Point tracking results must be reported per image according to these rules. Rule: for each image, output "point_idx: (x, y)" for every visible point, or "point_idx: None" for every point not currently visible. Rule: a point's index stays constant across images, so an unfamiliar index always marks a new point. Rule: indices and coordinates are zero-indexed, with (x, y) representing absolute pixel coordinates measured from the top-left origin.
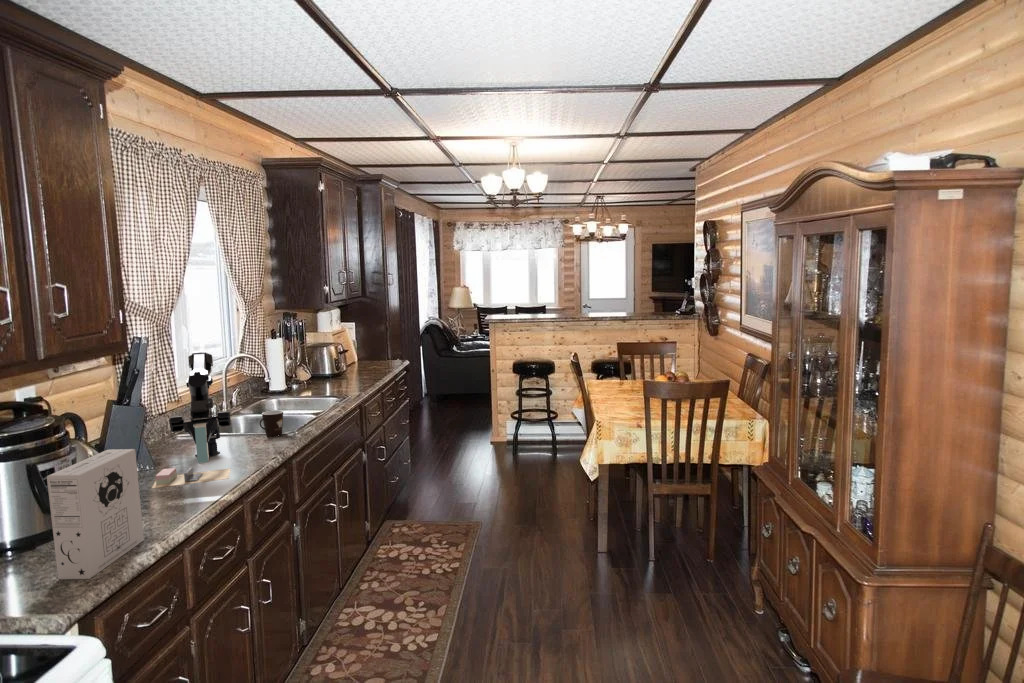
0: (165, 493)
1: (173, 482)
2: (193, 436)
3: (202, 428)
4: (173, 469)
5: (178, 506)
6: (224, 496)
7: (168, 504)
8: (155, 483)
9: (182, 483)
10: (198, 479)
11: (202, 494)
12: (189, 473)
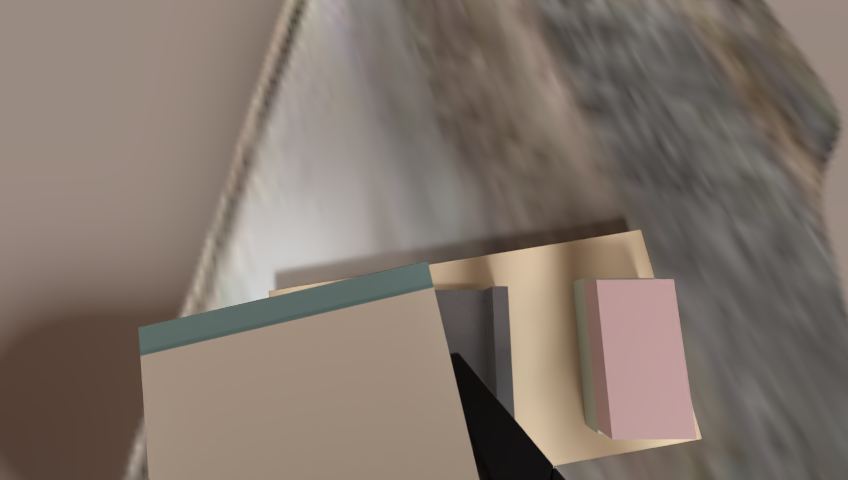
0: (549, 193)
1: (558, 300)
2: (498, 421)
3: (241, 310)
4: (615, 401)
5: (429, 18)
6: (265, 88)
7: (479, 48)
8: None
9: (501, 269)
10: None
11: (368, 137)
12: (491, 342)
